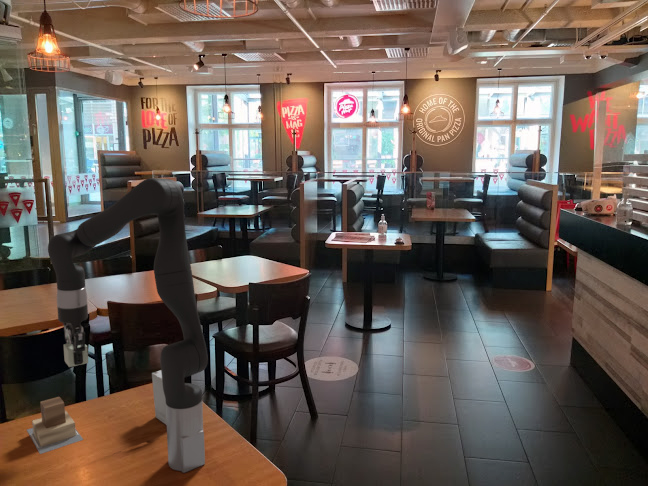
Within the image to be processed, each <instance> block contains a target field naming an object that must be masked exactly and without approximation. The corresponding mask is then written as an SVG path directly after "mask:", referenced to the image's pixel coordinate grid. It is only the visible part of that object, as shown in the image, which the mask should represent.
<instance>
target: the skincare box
mask: <svg viewBox="0 0 648 486" xmlns="http://www.w3.org/2000/svg"><path fill="white" fill-rule="evenodd" d="M151 379H152V381H151V382H152V390H153V391H152V392H153V401H154V402H153V403H154V412H155V413H154V414H155V417H156V419H158V420H159V421H160V422H162V423H163V424H164V425H166V426H167V422H166V399H165V395H164V391H163V383H162V373H161V369H160V370H158V371H155V372H151Z"/></svg>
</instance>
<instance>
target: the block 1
mask: <svg viewBox="0 0 648 486" xmlns="http://www.w3.org/2000/svg"><path fill="white" fill-rule="evenodd" d="M39 403H40V404H39V405H40V412H41V413H40V414H41V415H40V417H41V418H42V422H43V424H44V425H45V427H46V428H49V427H53V426H56V425H59V424H62V423H66V418H65V411H66V407H65V402H64V401H63V399H62V398H61V397H60V396H56V397H53V398H49V399H45V400H42V401H40V402H39Z"/></svg>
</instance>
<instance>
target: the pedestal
mask: <svg viewBox="0 0 648 486" xmlns="http://www.w3.org/2000/svg"><path fill="white" fill-rule="evenodd" d="M65 418H66V423H62V424H59V425H56V426H53V427H49V428H46V427H45V425H44V424H43V422H42V417H40V418H36V419H34V420H32V421H31V425H32V428H33V434H34V436H35V437H36V439H37V441H38V443H39V444H40V446H41V447H43V446H46V445H49V444H52V443H55V442H58V441H61V440H64V439H67V438H70V437H73V436H76V430H77V429H76V422H75V421H74V419H73V418H72V416H70V414H69V413H68V410H65ZM75 429H76V430H75Z"/></svg>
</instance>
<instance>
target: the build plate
mask: <svg viewBox="0 0 648 486" xmlns="http://www.w3.org/2000/svg"><path fill="white" fill-rule="evenodd" d="M75 430H76V436H73V437H70V438H67V439H64V440H61V441H58V442H55V443H52V444H49V445H46V446H43V447H41V446H40V444H39V443H38V441H37V439H36V437H35V436H34V434H33V427H30V428H28V429H26V431H27V433H28V435H29V437H30V439H31V440H32V442H33V444H34V446H35V448H36V449H37V451H38V453H39V455H42V454H44V453H48V452H51V451H53V450H54V451H55V450H57V449H60V448H63V447H65V446H69V445H72V444H75V443H77V442H80V441H81V442H82V441H83V440H84V438H83V437H82V435H81V434H80V432H79V431H78V430H77V428H75Z"/></svg>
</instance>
